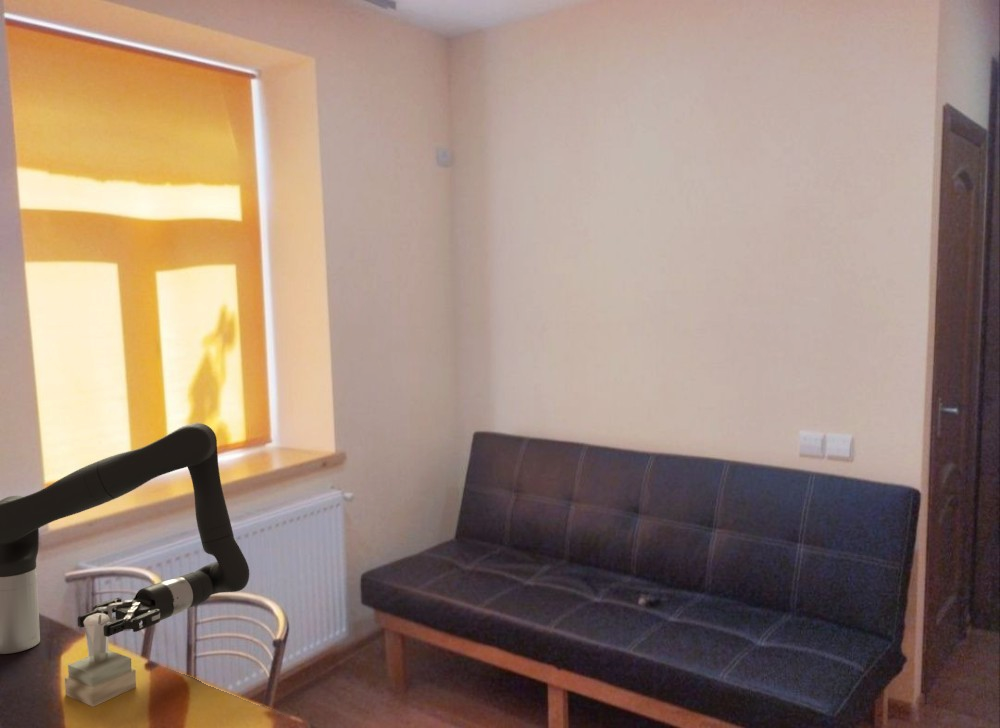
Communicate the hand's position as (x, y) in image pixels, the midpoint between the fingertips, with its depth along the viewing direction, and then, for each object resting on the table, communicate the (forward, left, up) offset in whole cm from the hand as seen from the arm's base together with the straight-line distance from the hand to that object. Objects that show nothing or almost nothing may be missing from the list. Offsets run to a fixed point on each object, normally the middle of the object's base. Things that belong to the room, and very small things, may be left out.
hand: (91, 626), depth 154 cm
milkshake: (0, +2, -8) cm, 8 cm away
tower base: (0, +1, -13) cm, 14 cm away
